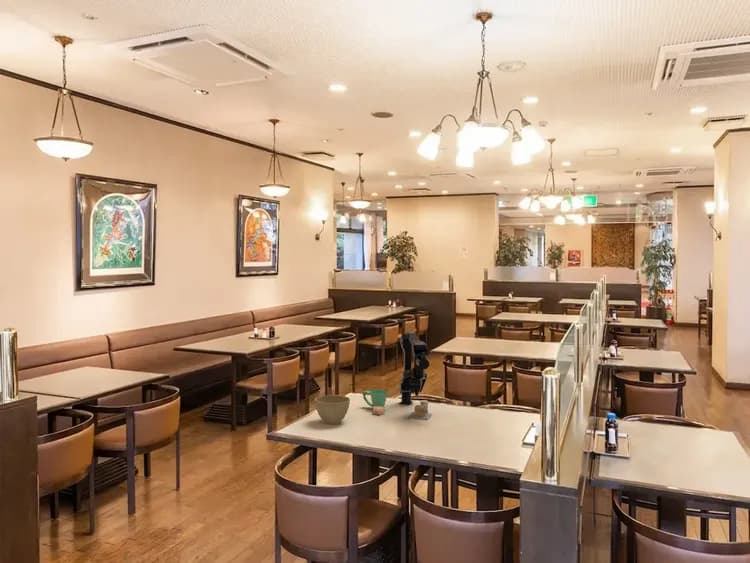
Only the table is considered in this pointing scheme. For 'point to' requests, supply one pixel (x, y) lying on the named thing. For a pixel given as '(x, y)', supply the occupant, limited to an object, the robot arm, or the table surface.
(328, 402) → the flower pot
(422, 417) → the slate coaster
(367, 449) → the table surface
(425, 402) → the light wood block
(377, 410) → the peach egg shape
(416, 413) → the walnut block
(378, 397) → the mug
